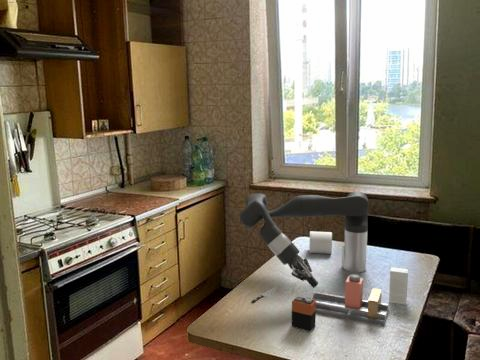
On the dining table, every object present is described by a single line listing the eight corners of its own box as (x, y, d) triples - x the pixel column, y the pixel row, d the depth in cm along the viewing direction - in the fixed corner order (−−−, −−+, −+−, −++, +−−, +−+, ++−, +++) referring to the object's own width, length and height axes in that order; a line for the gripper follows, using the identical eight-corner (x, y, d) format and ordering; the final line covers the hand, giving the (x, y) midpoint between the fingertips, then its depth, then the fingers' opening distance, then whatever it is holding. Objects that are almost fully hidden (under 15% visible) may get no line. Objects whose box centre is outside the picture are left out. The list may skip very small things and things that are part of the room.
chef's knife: (284, 287, 182) (277, 285, 183) (284, 285, 182) (277, 283, 183) (257, 306, 166) (250, 303, 168) (257, 303, 166) (250, 300, 168)
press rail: (306, 311, 161) (306, 290, 160) (315, 297, 172) (315, 278, 171) (384, 325, 151) (385, 304, 150) (388, 309, 162) (389, 289, 160)
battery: (310, 332, 147) (311, 302, 145) (290, 327, 151) (291, 298, 149) (315, 326, 151) (316, 297, 149) (296, 321, 154) (296, 293, 152)
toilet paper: (309, 255, 215) (309, 235, 213) (309, 248, 225) (310, 228, 223) (331, 256, 213) (332, 236, 212) (331, 249, 223) (331, 229, 221)
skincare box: (406, 299, 169) (408, 268, 167) (406, 305, 165) (408, 273, 163) (388, 297, 171) (390, 266, 169) (388, 302, 167) (390, 271, 165)
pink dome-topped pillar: (344, 309, 159) (345, 278, 157) (347, 302, 164) (348, 272, 162) (359, 311, 157) (360, 280, 155) (362, 305, 162) (363, 275, 160)
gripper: (282, 248, 175) (313, 284, 172) (270, 260, 163) (303, 299, 160) (296, 236, 171) (328, 273, 169) (284, 248, 160) (318, 287, 157)
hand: (316, 285), depth 165 cm, fingers closed
